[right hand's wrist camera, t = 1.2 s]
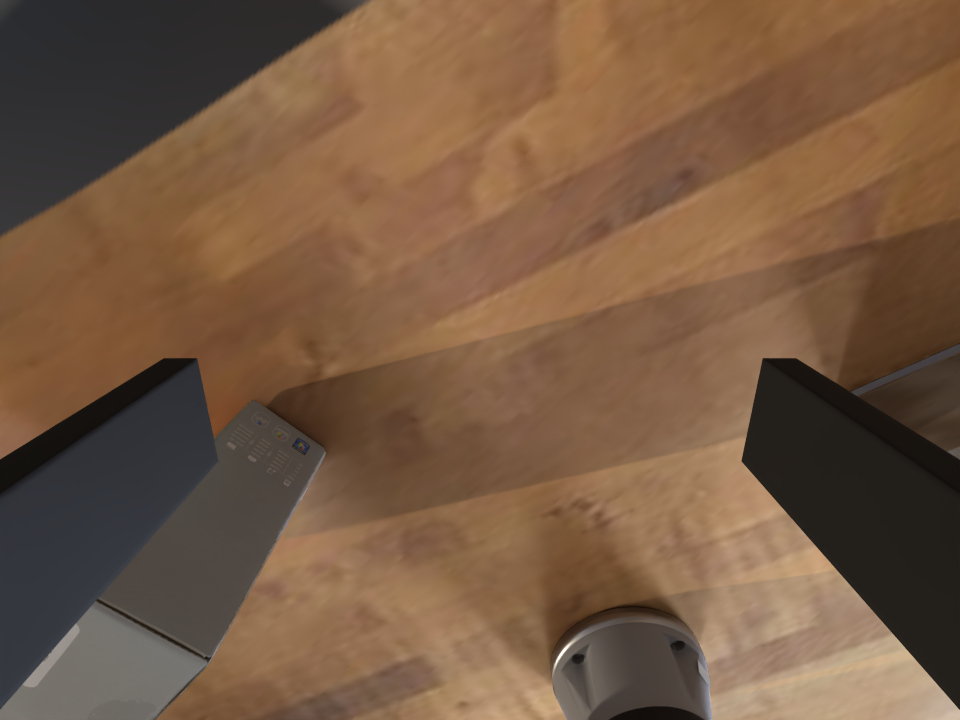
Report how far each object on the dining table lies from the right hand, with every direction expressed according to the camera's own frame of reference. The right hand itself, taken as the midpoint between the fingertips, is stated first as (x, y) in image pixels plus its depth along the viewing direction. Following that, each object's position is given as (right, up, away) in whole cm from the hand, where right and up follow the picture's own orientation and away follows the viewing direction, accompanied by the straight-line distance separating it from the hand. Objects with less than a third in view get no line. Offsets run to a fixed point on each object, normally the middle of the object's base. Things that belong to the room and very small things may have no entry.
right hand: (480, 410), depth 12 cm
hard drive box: (-21, -9, +33) cm, 40 cm away
